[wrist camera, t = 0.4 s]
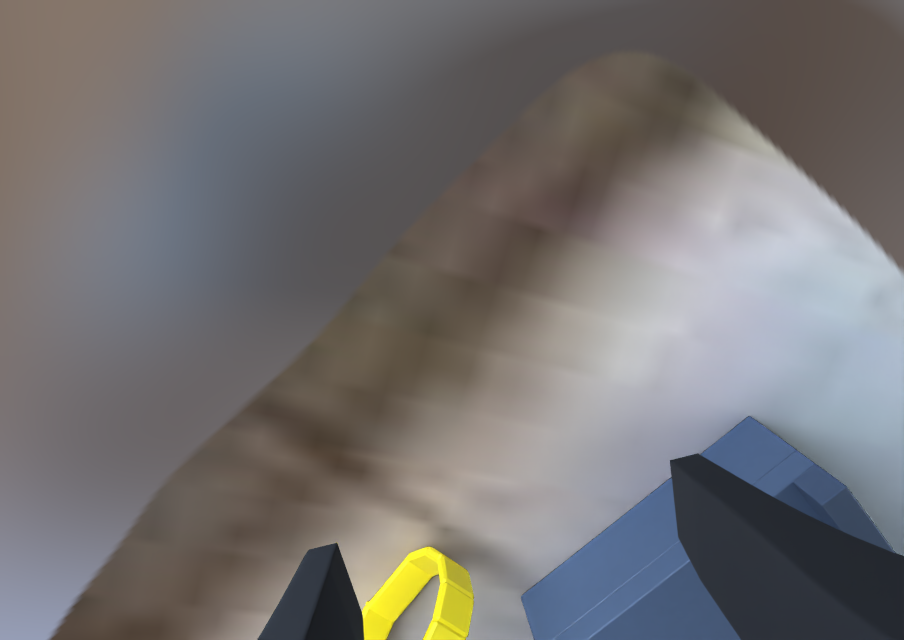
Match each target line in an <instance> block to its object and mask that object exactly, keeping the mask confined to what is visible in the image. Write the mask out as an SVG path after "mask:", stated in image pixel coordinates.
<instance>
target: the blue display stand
mask: <svg viewBox="0 0 904 640" xmlns="http://www.w3.org/2000/svg"><path fill="white" fill-rule="evenodd" d="M700 455H701V456H703V457H705V458H707V459H708V460H710V461H712V462H713V463H715V464H717V465H719V466H720V467H722V468H724V469H725V470H727V471H729V472H730V473H732V474H734V475H736V476H737V477H739V478H741V479H742V480H744V481H746V482H748V483H749V484H751V485H753V486H755V487H756V488H758V489H760V490H762V491H763V492H765V493H767V494H769V495H771V496H772V497H774V498H776V499H778V500H780V501H782V502H784V503H785V504H787V505H789V506H791V507H793V508H795V509H797V510H799V511H801V512H803V513H805V514H807V515H809V516H811V517H813V518H815V519H817V520H819V521H821V522H823V523H825V524H828V525H830V526H832V527H834V528H836V529H838V530H840V531H843V532H845V533H847V534H849V535H852V536H854V537H856V538H859V539H861V540H864V541H866V542H869V543H871V544H874V545H876V546H878V547H881V548H883V549H886V550H888V551H891V552H893V553H895V551H894V550H893V549H892V547H891V546H890V545H889V543H888V542H887V541H886V539H885V538H884V537H883V535H882V534H881V532H880V531H879V530H878V528H877V527H876V526H875V524H874V523H873V522H872V520H871V519H870V517H869V516H868V515H867V513H866V512H865V511H864V509H863V508H862V507H861V505H860V504H859V503H858V501H857V500H856V498H855V497H854V496H853V494H852V493H851V492H850V490H849V489H848V488H847V486H845V485H844V484H843V483H841V482H840V481H839V480H837V479H836V478H834V477H833V476H832V475H830V474H829V473H828V472H826V471H825V470H823V469H822V468H821V467H819V466H818V465H816V464H815V463H814V462H812V461H811V460H810V459H808V458H807V457H806V456H804V455H803V454H801V453H800V452H798V451H797V450H796V449H795V448H793V447H792V446H790V445H789V444H788V443H786V442H785V441H784V440H782V439H781V438H780V437H778V436H777V435H775V434H774V433H773V432H771V431H770V430H769V429H767V428H766V427H764V426H763V425H762V424H760V423H759V422H758V421H756V420H755V419H753V418H752V417H751V416H748V417H747V418H746V419H745V420H743V421H742V422H741V423H740V424H738V425H737V426H736V427H735V428H733V429H732V430H731V431H730V432H728V433H727V434H726V435H724V436H723V437H722V438H721V439H719V440H718V441H717V442H716V443H714V444H713V445H712V446H711V447H709V448H708V449H707V450H705V451H704V452H703V453H702V454H700ZM521 600H522V603H523V606H524V609H525V612H526V615H527V619H528V622H529V625H530V628H531V631H532V635H533V638H534V640H741V639H740V637H739V636H738V634H737V633H736V632H735V630H734V629H733V627H732V626H731V624H730V623H729V621H728V620H727V619H726V617H725V616H724V614H723V613H722V611H721V610H720V608H719V607H718V605H717V604H716V602H715V601H714V599H713V598H712V597H711V595H710V594H709V592H708V591H707V589H706V588H705V586H704V585H703V583H702V582H701V580H700V578H699V576H698V575H697V573H696V571H695V569H694V567H693V565H692V563H691V561H690V560H689V558H688V556H687V554H686V552H685V550H684V548H683V546H682V544H681V542H680V540H679V538H678V532H677V523H676V513H675V504H674V494H673V485H672V477H671V478H670V479H669V480H668V481H666V482H665V483H664V484H662V485H661V486H660V487H659V488H657V489H656V490H655V491H654V492H652V493H651V494H650V495H649V496H647V497H646V498H645V499H644V500H642V501H641V502H640V503H638V504H637V505H636V506H635V507H633V508H632V509H631V510H630V511H628V512H627V513H626V514H625V515H623V516H622V517H621V518H619V519H618V520H617V521H616V522H614V523H613V524H612V525H611V526H609V527H608V528H607V529H606V530H604V531H603V532H602V533H601V534H599V535H598V536H597V537H595V538H594V539H593V540H592V541H590V542H589V543H588V544H587V545H585V546H584V547H583V548H582V549H580V550H579V551H578V552H576V553H575V554H574V555H573V556H571V557H570V558H569V559H568V560H566V561H565V562H564V563H563V564H561V565H560V566H559V567H558V568H556V569H555V570H554V571H552V572H551V573H550V574H549V575H547V576H546V577H545V578H544V579H542V580H541V581H540V582H539V583H537V584H536V585H535V586H533V587H532V588H531V589H530V590H528V591H527V592H526V593H525V594H523V595H522V596H521Z"/></svg>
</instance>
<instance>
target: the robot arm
mask: <svg viewBox="0 0 904 640" xmlns="http://www.w3.org/2000/svg"><path fill="white" fill-rule="evenodd" d="M670 466H671V475H672V485H673V494H674V504H675V513H676V523H677V532H678V538H679V540H680V542H681V544H682V546H683V548H684V550H685V552H686V554H687V556H688V558H689V560H690V561H691V563H692V565H693V567H694V569H695V571H696V573H697V575H698V576H699V578H700V580H701V582H702V583H703V585H704V586H705V588H706V589H707V591H708V592H709V594H710V595H711V597H712V598H713V599H714V601H715V602H716V604H717V605H718V607H719V608H720V610H721V611H722V613H723V614H724V616H725V617H726V619H727V620H728V621H729V623H730V624H731V626H732V627H733V629H734V630H735V632H736V633H737V634H738V636H739V637H740V639H741V640H904V556H902V555H899V554H896V553H893V552H891V551H888V550H886V549H883V548H881V547H878V546H876V545H874V544H871V543H869V542H866V541H864V540H861V539H859V538H856V537H854V536H852V535H849V534H847V533H845V532H843V531H840V530H838V529H836V528H834V527H832V526H830V525H828V524H825V523H823V522H821V521H819V520H817V519H815V518H813V517H811V516H809V515H807V514H805V513H803V512H801V511H799V510H797V509H795V508H793V507H791V506H789V505H787V504H785V503H784V502H782V501H780V500H778V499H776V498H774V497H772V496H771V495H769V494H767V493H765V492H763V491H762V490H760V489H758V488H756V487H755V486H753V485H751V484H749V483H748V482H746V481H744V480H742V479H741V478H739V477H737V476H736V475H734V474H732V473H730V472H729V471H727V470H725V469H724V468H722V467H720V466H719V465H717V464H715V463H713V462H712V461H710V460H708V459H707V458H705V457H703V456H701V455H700V454H694V455H690V456H686V457H682V458H678V459H674V460H670ZM258 640H364V626H363V614H362V612H361V609H360V606H359V603H358V600H357V598H356V595H355V592H354V589H353V586H352V583H351V581H350V578H349V575H348V572H347V569H346V567H345V564H344V561H343V558H342V555H341V553H340V550H339V547H338V544H337V543H335V544H331V545H326V546H322V547H318V548H314V549H310V550H308V552H307V553H306V555H305V556H304V558H303V560H302V562H301V564H300V566H299V567H298V569H297V571H296V573H295V575H294V577H293V578H292V580H291V582H290V584H289V586H288V588H287V589H286V591H285V593H284V595H283V597H282V599H281V600H280V602H279V604H278V606H277V607H276V609H275V611H274V612H273V614H272V616H271V618H270V619H269V621H268V623H267V624H266V626H265V628H264V630H263V631H262V633H261V635H260V636H259V638H258Z"/></svg>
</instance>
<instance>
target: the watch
mask: <svg viewBox="0 0 904 640" xmlns="http://www.w3.org/2000/svg"><path fill="white" fill-rule="evenodd" d="M438 574H439V578H440V588H439V592H438V596H437V601H436V605H435V610H434V614H433V620H432V621H431V623H430V625H429V627H428V629H427V631H426V634H425V636H424V638H423V640H466V637H468V633H469V628H470V622H471V616H472V611H473V605H474V600H473V599H474V595H473V590H472V585H471V580H470V576H469V573H468V571H467V570H466V569H465V568H463V567H462V566H460V565H459V564H457V563H456V562H454V561H453V560H451V559H450V558H448V557H447V556H445V555H444V554H442V553H440V552H439V551H437V550H436V549H434V548H432V547H425V548H423V549H420V550H417V551H415V552H412V553H409V554H408V556H407V557H406V558H405V560H404V561H403V562H402V563H401V564H400V566H399V567H398V568H397V569H396V570H395V572H394V573H393V574H392V575H391V576H390V578H389V579H388V580H387V581H386V582H385V584H384V585H383V586H382V587H381V588H380V590H379V591H378V592H377V593H376V594H375V596H374V597H373V598H372V599H371V600H370V602H369V601H367V602H366V603H365V604H366V606H364V609H363V611H362V614H363V626H364V640H387V638H388V635H389V633H390V631H391V628H392V626H393V624H394V622H395V621H396V620H397V618H398V617H399V616H400V615H401V614H402V612H403V611H404V610H405V609H406V608H407V606H408V605H409V604H410V603H411V602H412V601H413V599H414V598H415V597H416V596H417V595H418V593H419V592H420V591H421V590H422V589H423V587H424V586H425V585H426V584H427V583H428V581H429V580H430V579H431V578H432V577H433V576H434V575H438Z"/></svg>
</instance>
